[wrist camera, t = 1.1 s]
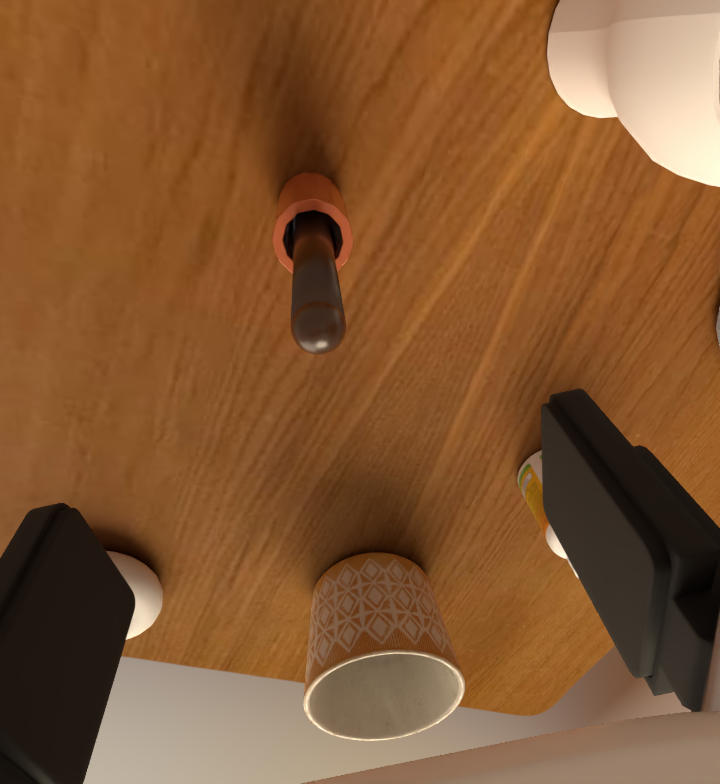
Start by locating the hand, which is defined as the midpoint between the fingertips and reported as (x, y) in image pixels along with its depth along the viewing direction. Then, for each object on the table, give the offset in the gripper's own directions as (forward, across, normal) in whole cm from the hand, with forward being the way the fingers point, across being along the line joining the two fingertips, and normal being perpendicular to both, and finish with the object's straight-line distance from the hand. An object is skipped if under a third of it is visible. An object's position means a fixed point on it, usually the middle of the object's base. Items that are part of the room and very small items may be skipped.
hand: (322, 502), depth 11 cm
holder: (+25, 0, 0) cm, 25 cm away
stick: (+24, 0, 0) cm, 24 cm away
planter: (+25, +3, +35) cm, 43 cm away
